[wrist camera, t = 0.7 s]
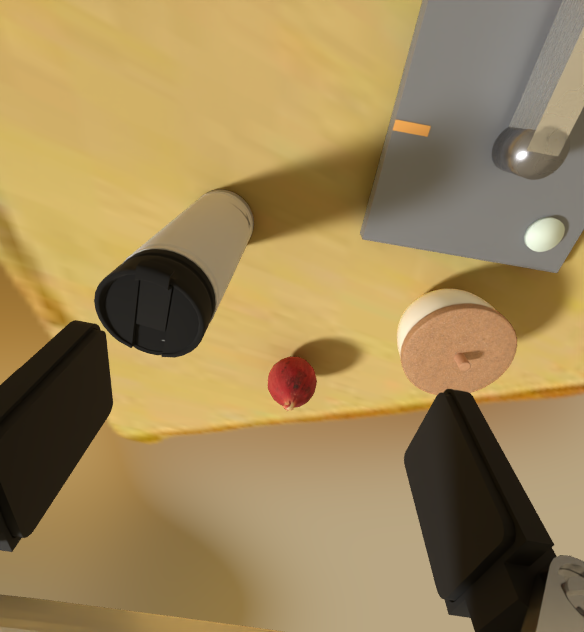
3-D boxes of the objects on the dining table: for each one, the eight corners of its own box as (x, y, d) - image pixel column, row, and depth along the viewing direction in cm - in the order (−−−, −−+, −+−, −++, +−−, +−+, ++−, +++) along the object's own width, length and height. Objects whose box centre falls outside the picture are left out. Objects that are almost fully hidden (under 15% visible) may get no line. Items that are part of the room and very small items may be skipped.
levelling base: (430, -29, 26) (441, -42, 24) (685, 24, 27) (719, 16, 24) (360, 232, 36) (363, 241, 34) (545, 265, 37) (560, 275, 35)
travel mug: (262, 198, 35) (215, 288, 18) (245, 257, 38) (191, 381, 21) (200, 176, 34) (88, 247, 17) (188, 238, 37) (84, 350, 20)
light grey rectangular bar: (520, 173, 31) (552, 183, 26) (480, 165, 30) (506, 175, 26) (632, -66, 23) (702, -103, 19) (579, -77, 23) (638, -117, 19)
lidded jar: (500, 319, 41) (546, 372, 33) (419, 366, 45) (442, 423, 37) (453, 253, 37) (493, 295, 29) (369, 310, 41) (383, 361, 33)
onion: (283, 336, 43) (278, 380, 36) (324, 354, 44) (326, 400, 38) (264, 369, 46) (255, 415, 39) (303, 385, 47) (301, 432, 40)
